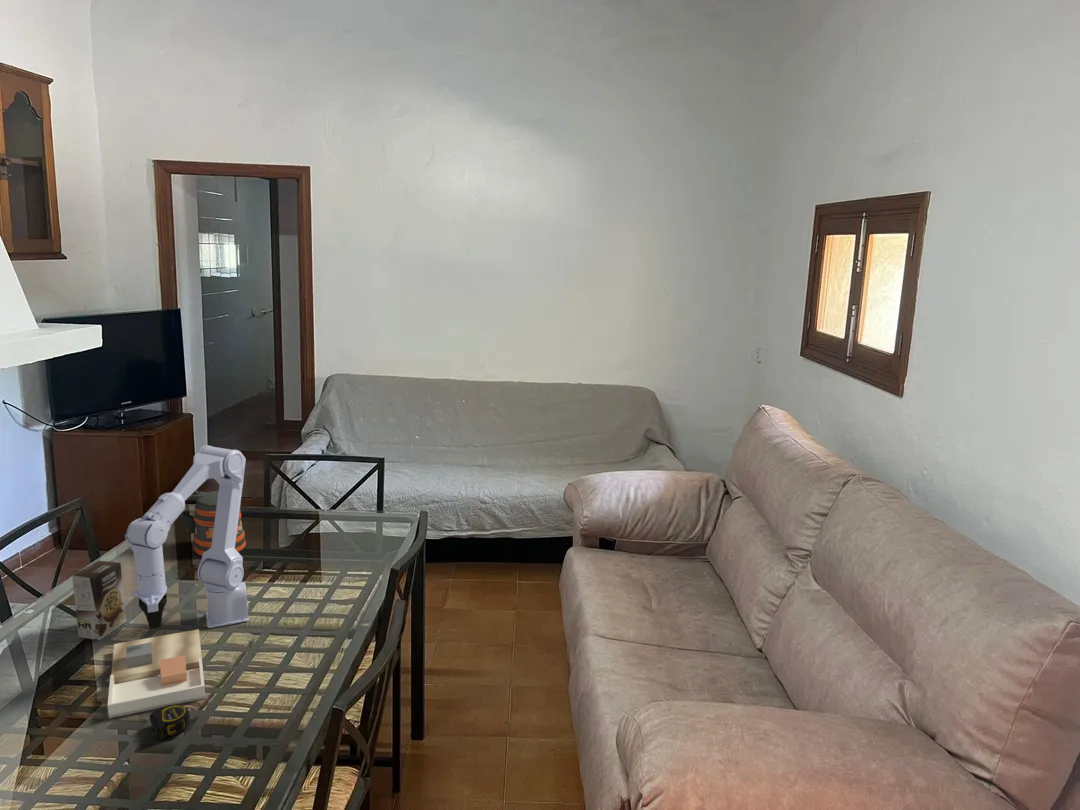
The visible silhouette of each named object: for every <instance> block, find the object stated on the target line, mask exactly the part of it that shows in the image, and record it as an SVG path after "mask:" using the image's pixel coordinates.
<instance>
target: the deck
mask: <svg viewBox="0 0 1080 810" xmlns="http://www.w3.org/2000/svg"><path fill="white" fill-rule="evenodd" d="M150 642H152V652H153V654H152V664H147V665H141V666H136V667H131V668H127V662H126V651H127V647H128V646H133V645H139V644H145V643H150ZM112 652H113V653H112V664H111V674H110V675H113V674H114V682H115V684H119V683H124V682H129V681H134V680H140V679H145V678H150V677H153V676H158V675H161V670H160V660H163V659H168V658H173V657H179V656H184V655H185V659H186V670H191V669H196V668H200V667H199V658H202V657H203V656H202V648H201V636H200V629H199V628H198V629H194V630H193V629H192V630H191V629H190V630H188V631H180V632H176V633H175V632H174V633H169V634H165V635H158V636H152V637H147V638H140V639H136V640H131V641H124V642H118V643H114V644H113V651H112ZM202 659H203V658H202Z"/></svg>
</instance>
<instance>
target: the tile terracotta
mask: <svg viewBox="0 0 1080 810" xmlns="http://www.w3.org/2000/svg"><path fill="white" fill-rule="evenodd" d="M160 670H161V684H162V685H167V684H172V683H177V682H182V681H187V672H186V659H185V655H184V656H179V657H173V658H168V659H163V660H160Z"/></svg>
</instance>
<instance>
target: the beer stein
mask: <svg viewBox="0 0 1080 810" xmlns="http://www.w3.org/2000/svg"><path fill="white" fill-rule="evenodd" d="M218 492H219V490H213V491H207V492H206V491H198V489H197V490H196V491H195V492H194V493H193V494H192V495H191V496H190V497H189V498H188V499H186V500H185V503H186V502H188V501H192V502H195V506H194V511H193V515H190V514H188V513H187V512H186V511H185V510H184V511H183V512H182V513H181V514H180V515H179V516H178V518H179V519H180V520H181V522H182V523H183V524H184V525H185V526H186V529H185V530H186V533H188V534H189V536H190V535H192V534H193V541H192V543H193V551H194V552H195V553H196V555H199V556H201V557H202V554H203V553H204V552H206V551H207V550H209V549H210V548H211V546H212V538H213V531H214V523H215V515H216V507H217V500H218ZM242 523H243V522H242V511H241V509H240V510H239V518H238V526H237V534H236V541H235V549H236V551H237V552H238V553H240V552H241V551H243V550H244V549H245V547H246V546H247V545H246V544H247V542H246V541H247V540H246V536H245V534H246V532H245V530H244V528H243V524H242Z"/></svg>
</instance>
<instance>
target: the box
mask: <svg viewBox="0 0 1080 810" xmlns="http://www.w3.org/2000/svg"><path fill="white" fill-rule="evenodd" d="M203 666H204V665H203V658H199V667H200V668H196V669H191V670H186V672H187V681H182V682H177V683H172V684H167V685H162V684H161V675H160V676H155V677H150V678H145V679H140V680H134V681H129V682H124V683H119V684H115V682H114V674H113V675H111V674H110V676H109V686H108V696H107V697H108V698H107V713H108V719H113V718H117V717H119V718H120V717H123V716H128V715H132V714H138V713H142V712H147V711H152V710H158V709H161V707H162V708H163V707H165V706H168V705H173V704H179V705H182V704H186V703H190V702H195V701H200V700H205V699H206V691H205V690H206V689H205V688H206V687H205V678H204V677H205V676H204V668H203Z"/></svg>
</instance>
